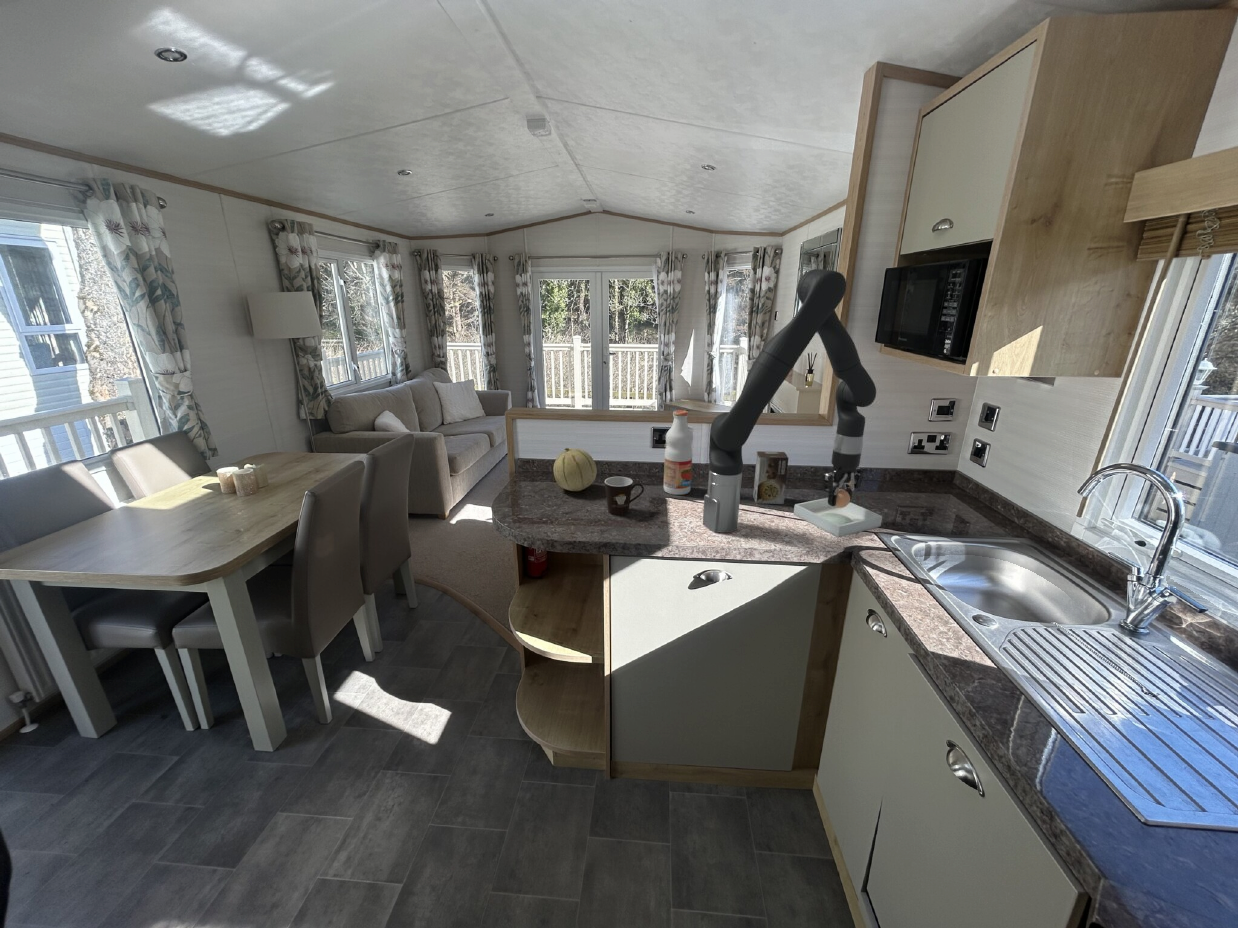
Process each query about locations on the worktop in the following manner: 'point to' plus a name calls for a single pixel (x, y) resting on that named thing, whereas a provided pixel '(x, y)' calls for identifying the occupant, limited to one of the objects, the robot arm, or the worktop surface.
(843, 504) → the terracotta ball
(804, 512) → the tray
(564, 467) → the cantaloupe
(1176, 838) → the worktop surface
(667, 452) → the fruit juice
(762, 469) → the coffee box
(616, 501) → the coffee mug
